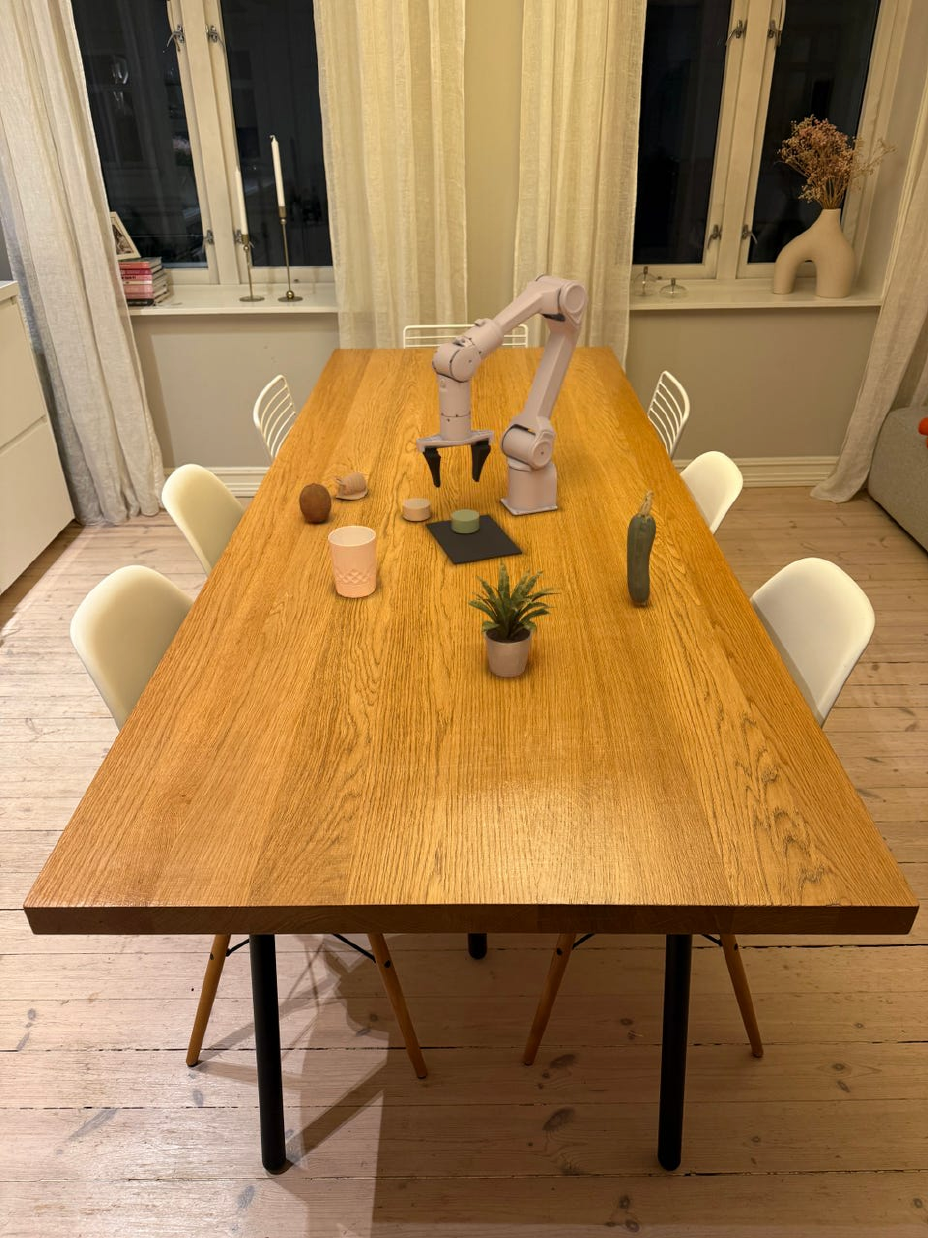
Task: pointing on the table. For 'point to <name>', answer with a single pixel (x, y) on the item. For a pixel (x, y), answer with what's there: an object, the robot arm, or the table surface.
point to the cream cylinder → (416, 509)
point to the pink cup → (353, 560)
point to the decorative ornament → (351, 486)
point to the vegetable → (640, 551)
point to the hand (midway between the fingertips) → (456, 483)
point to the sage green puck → (465, 521)
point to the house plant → (510, 622)
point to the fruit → (315, 502)
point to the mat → (474, 541)
